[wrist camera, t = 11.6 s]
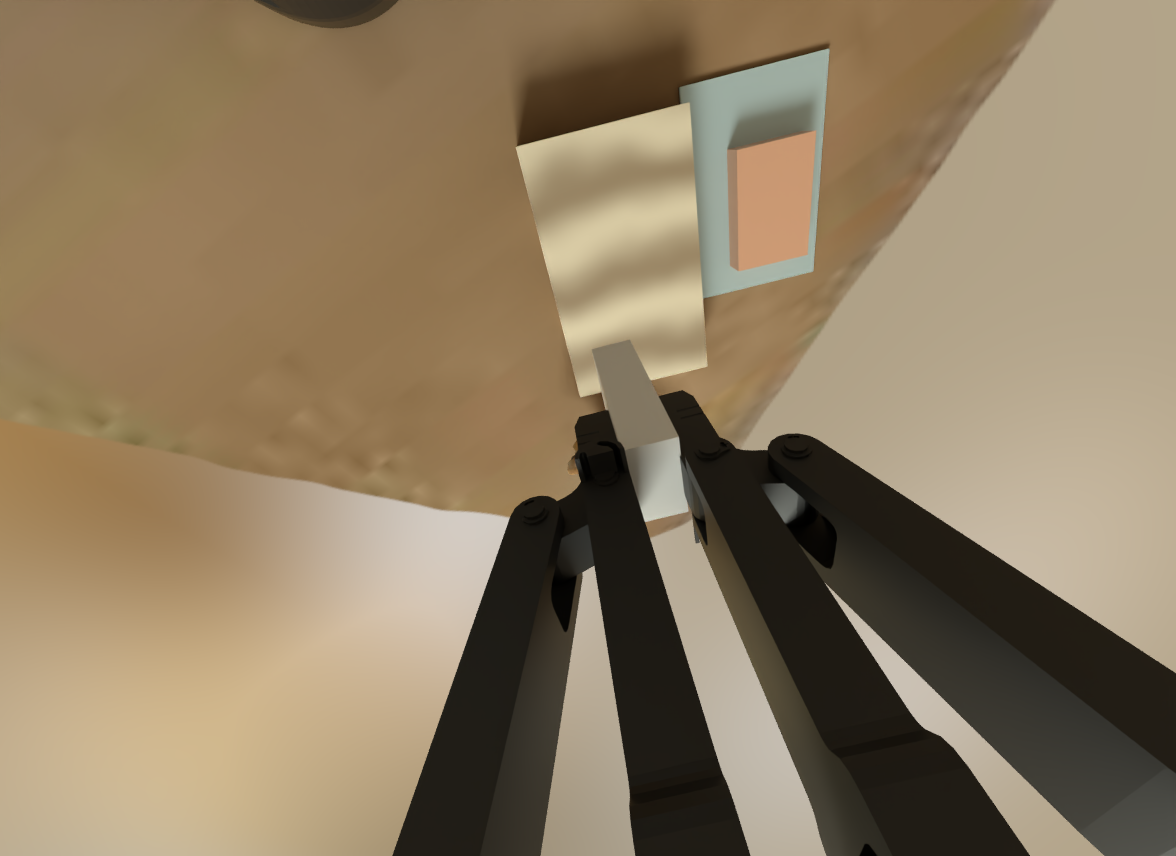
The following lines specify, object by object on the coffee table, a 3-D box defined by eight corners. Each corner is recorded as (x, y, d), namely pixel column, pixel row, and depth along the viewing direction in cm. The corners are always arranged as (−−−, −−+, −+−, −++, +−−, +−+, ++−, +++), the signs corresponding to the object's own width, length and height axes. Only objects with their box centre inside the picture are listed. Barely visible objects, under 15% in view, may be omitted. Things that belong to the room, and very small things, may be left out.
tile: (816, 130, 33) (802, 130, 35) (737, 150, 33) (727, 149, 35) (807, 254, 38) (795, 249, 40) (738, 271, 38) (729, 265, 40)
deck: (517, 146, 33) (515, 147, 30) (673, 105, 33) (689, 102, 30) (576, 378, 44) (580, 397, 41) (693, 349, 44) (707, 366, 41)
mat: (678, 87, 32) (679, 86, 32) (827, 49, 32) (829, 48, 32) (695, 299, 41) (696, 300, 41) (811, 270, 41) (813, 271, 41)
